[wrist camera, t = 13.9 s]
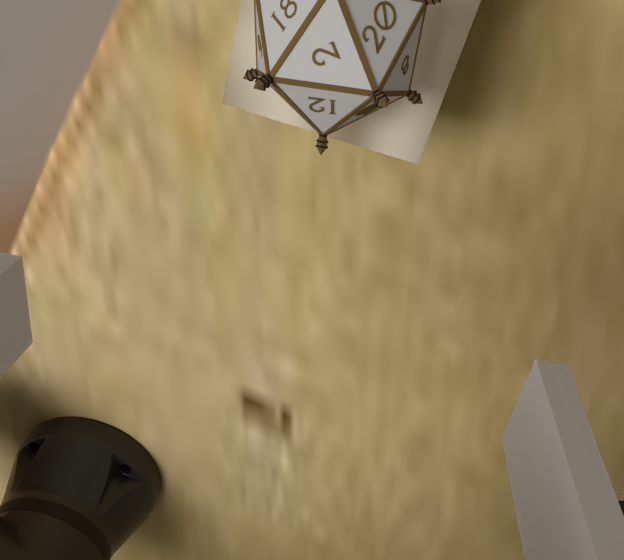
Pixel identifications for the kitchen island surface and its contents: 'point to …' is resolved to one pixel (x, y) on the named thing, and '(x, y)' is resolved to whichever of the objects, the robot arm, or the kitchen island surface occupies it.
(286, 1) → the game die
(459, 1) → the upper block
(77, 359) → the kitchen island surface
